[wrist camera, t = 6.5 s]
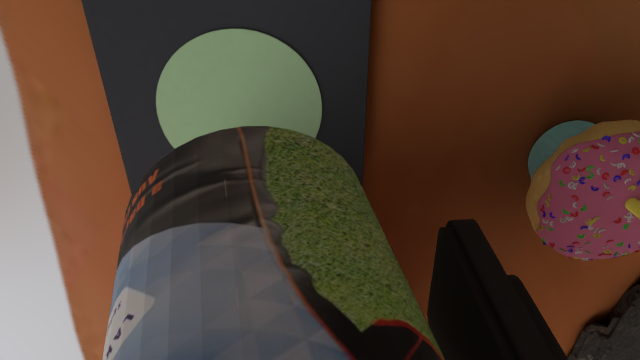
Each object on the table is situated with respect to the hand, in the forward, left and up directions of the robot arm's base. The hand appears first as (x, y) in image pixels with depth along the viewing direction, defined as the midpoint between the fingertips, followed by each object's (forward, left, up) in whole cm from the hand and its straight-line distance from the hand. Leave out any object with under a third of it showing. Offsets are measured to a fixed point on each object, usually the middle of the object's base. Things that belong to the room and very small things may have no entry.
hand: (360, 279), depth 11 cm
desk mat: (+3, -4, -18) cm, 18 cm away
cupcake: (+7, +16, -18) cm, 25 cm away
